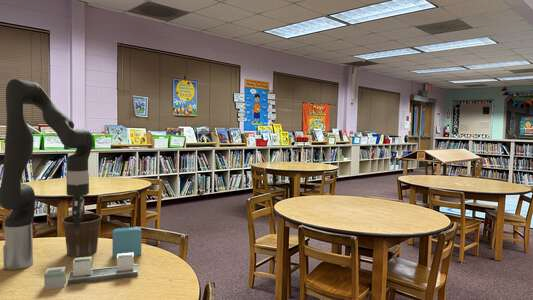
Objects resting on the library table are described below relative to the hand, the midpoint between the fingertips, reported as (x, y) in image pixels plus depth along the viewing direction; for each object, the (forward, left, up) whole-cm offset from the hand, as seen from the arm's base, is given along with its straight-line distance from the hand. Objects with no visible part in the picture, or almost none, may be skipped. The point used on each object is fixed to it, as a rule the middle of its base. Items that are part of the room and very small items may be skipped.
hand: (78, 224), depth 134 cm
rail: (+9, -3, -21) cm, 23 cm away
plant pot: (-2, +27, -21) cm, 34 cm away
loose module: (-7, -6, -21) cm, 23 cm away
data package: (+17, +18, -21) cm, 33 cm away
